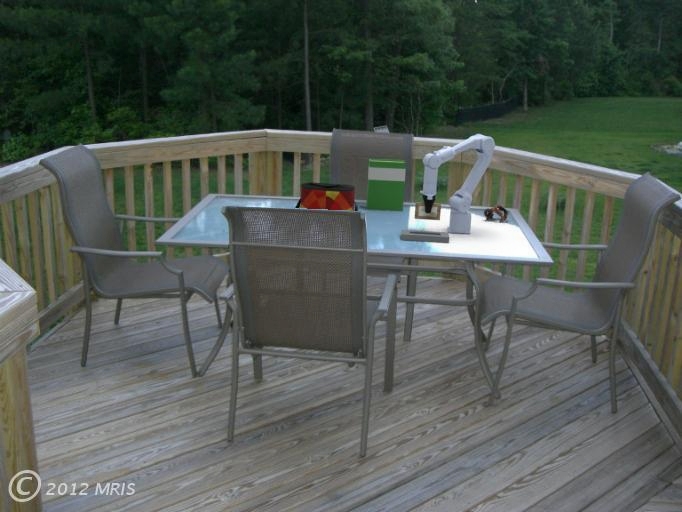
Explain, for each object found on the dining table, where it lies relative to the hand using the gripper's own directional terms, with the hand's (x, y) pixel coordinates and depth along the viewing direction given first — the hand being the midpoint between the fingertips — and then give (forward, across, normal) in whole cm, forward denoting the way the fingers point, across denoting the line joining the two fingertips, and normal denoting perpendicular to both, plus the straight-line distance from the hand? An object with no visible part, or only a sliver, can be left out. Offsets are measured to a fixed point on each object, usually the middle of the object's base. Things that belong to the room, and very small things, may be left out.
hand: (427, 212), depth 325 cm
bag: (+9, -16, -46) cm, 50 cm away
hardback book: (+9, -42, -19) cm, 47 cm away
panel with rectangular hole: (+9, +11, -1) cm, 14 cm away
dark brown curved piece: (+10, -31, +34) cm, 47 cm away
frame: (+3, 0, 0) cm, 3 cm away
